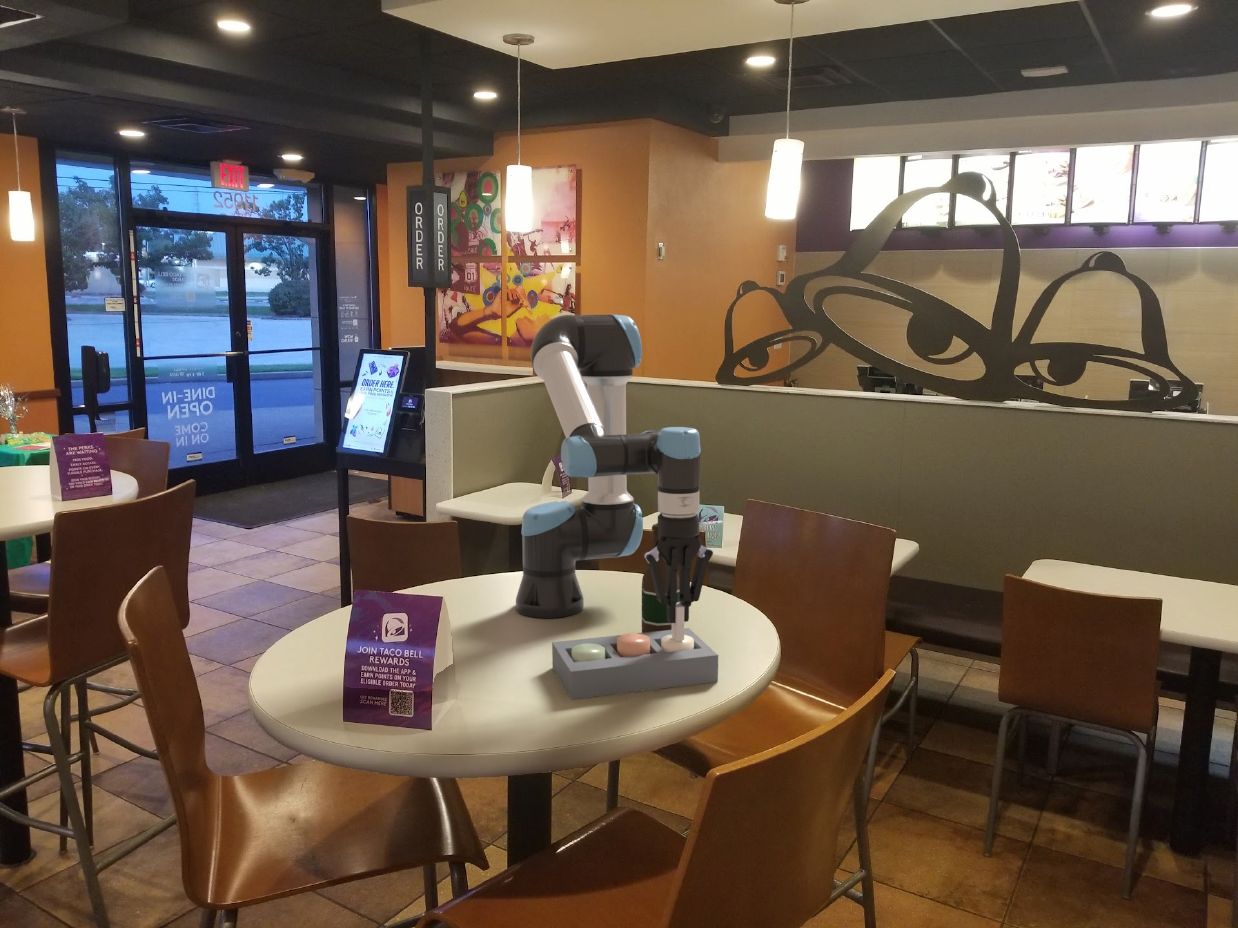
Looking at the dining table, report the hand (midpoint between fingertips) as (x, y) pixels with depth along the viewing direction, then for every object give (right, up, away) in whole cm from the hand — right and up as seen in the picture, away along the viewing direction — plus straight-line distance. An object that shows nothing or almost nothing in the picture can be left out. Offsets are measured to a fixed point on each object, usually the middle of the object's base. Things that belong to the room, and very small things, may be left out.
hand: (677, 638), depth 174 cm
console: (-8, -6, -1) cm, 10 cm away
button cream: (0, -5, +1) cm, 5 cm away
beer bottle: (-2, -4, +16) cm, 17 cm away
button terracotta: (-8, -4, -2) cm, 9 cm away
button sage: (-16, -5, -4) cm, 18 cm away
